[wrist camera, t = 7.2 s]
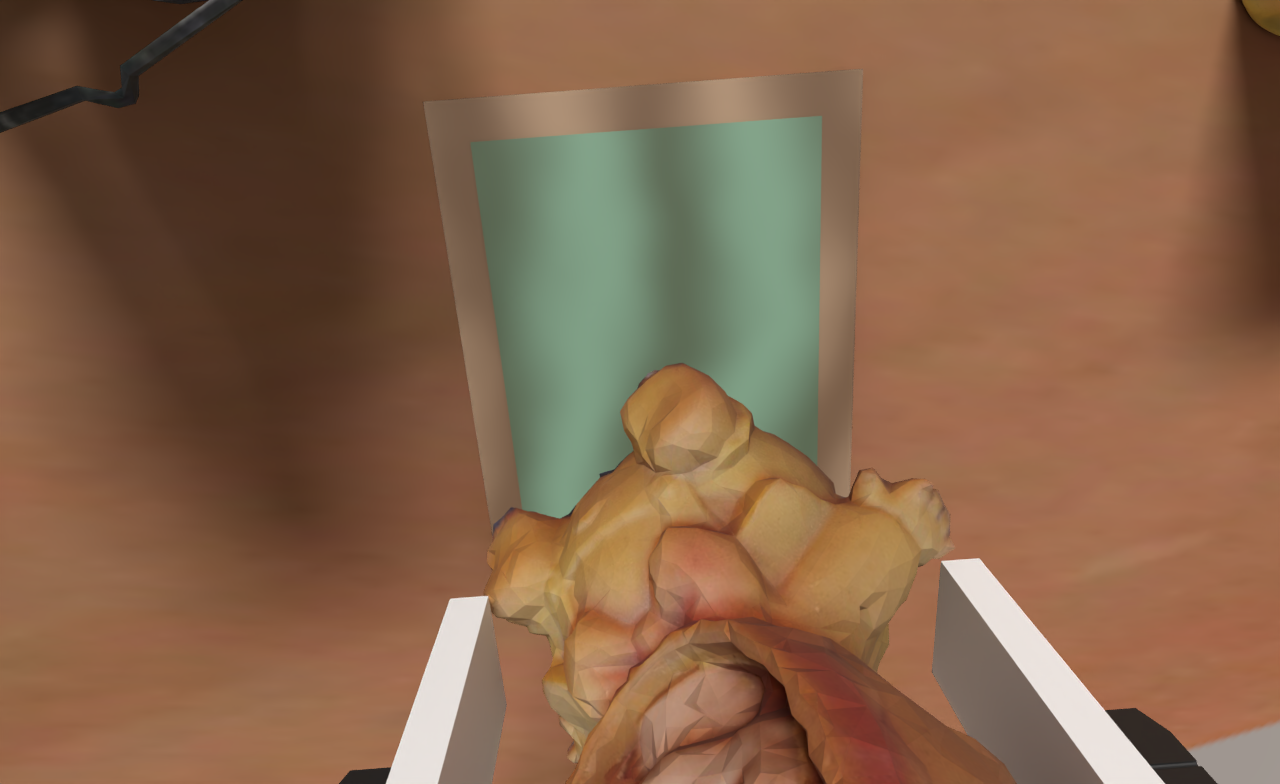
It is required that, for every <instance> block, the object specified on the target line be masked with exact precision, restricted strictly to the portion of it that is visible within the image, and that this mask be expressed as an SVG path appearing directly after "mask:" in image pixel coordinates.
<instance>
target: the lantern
mask: <svg viewBox="0 0 1280 784" xmlns="http://www.w3.org/2000/svg"><path fill="white" fill-rule="evenodd" d="M154 1H161V2H169V3H176V4H184V3H191V2H198V1H206V0H154ZM241 1H242V0H209V1H207V2H206V3H205V4H203V5H202V6H201V7H199V8H198V9H196V10H195V11H194V12H192V13H191V14H190V15H188V16H187V17H186V18H184V19H183V20H182V21H180V22H179V23H177V24H176V25H175V26H173V27H172V28H171V29H169V30H168V31H167V32H165V33H164V34H163V35H161V36H160V37H158V38H157V39H156V40H154V41H153V42H152V43H150V44H149V45H148V46H146V47H145V48H144V49H142V50H141V51H139V52H138V53H137V54H135V55H134V56H133V57H131V58H130V59H129V60H127V61H126V62H125V63H123V64H122V65H120V71H121V83H122V88H121V89H119V90H117V91H116V92H109V91H103V90H97V89H91V88H86V87H80V86H75V87H72V88H69V89H66V90H64V91H61V92H58V93H55V94H52V95H49V96H46V97H43V98H40V99H37V100H35V101H32V102H29V103H26V104H23V105H20V106H17V107H14V108H11V109H8V110H5V111H3V112H0V133H1V132H4V131H6V130H9V129H12V128H14V127H17V126H19V125H22V124H25V123H27V122H30V121H33V120H35V119H38V118H41V117H43V116H46V115H49V114H51V113H54V112H57V111H59V110H62V109H64V108H67V107H70V106H72V105H75V104H78V103H80V102H83V101H89V102H94V103H98V104H102V105H107V106H111V107H116V108H121V107H124V106H128V105H132V104H135V103H136V101H137V99H138V97H139V75H140V74H142V73H143V72H145V71H146V70H147V69H149V68H150V67H151V66H153V65H154V64H156V63H157V62H158V61H160V60H161V59H162V58H164V57H165V56H167V55H168V54H169V53H171V52H172V51H174V50H175V49H176V48H178V47H179V46H180V45H182V44H183V43H185V42H186V41H187V40H189V39H190V38H191V37H193V36H194V35H196V34H197V33H198V32H200V31H201V30H202V29H204V28H205V27H207V26H208V25H209V24H211V23H212V22H213V21H215V20H216V19H218V18H219V17H220V16H222V15H223V14H224V13H226V12H227V11H229V10H230V9H231V8H233V7H234V6H236V5H237V4H238V3H240V2H241Z"/></svg>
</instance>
